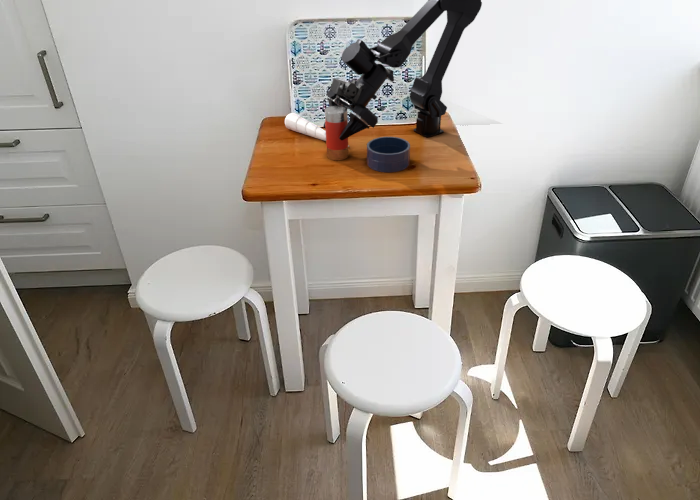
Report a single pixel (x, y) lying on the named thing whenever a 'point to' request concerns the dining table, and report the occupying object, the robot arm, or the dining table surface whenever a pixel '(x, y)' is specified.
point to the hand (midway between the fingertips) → (332, 133)
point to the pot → (388, 154)
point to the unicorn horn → (304, 126)
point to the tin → (336, 132)
